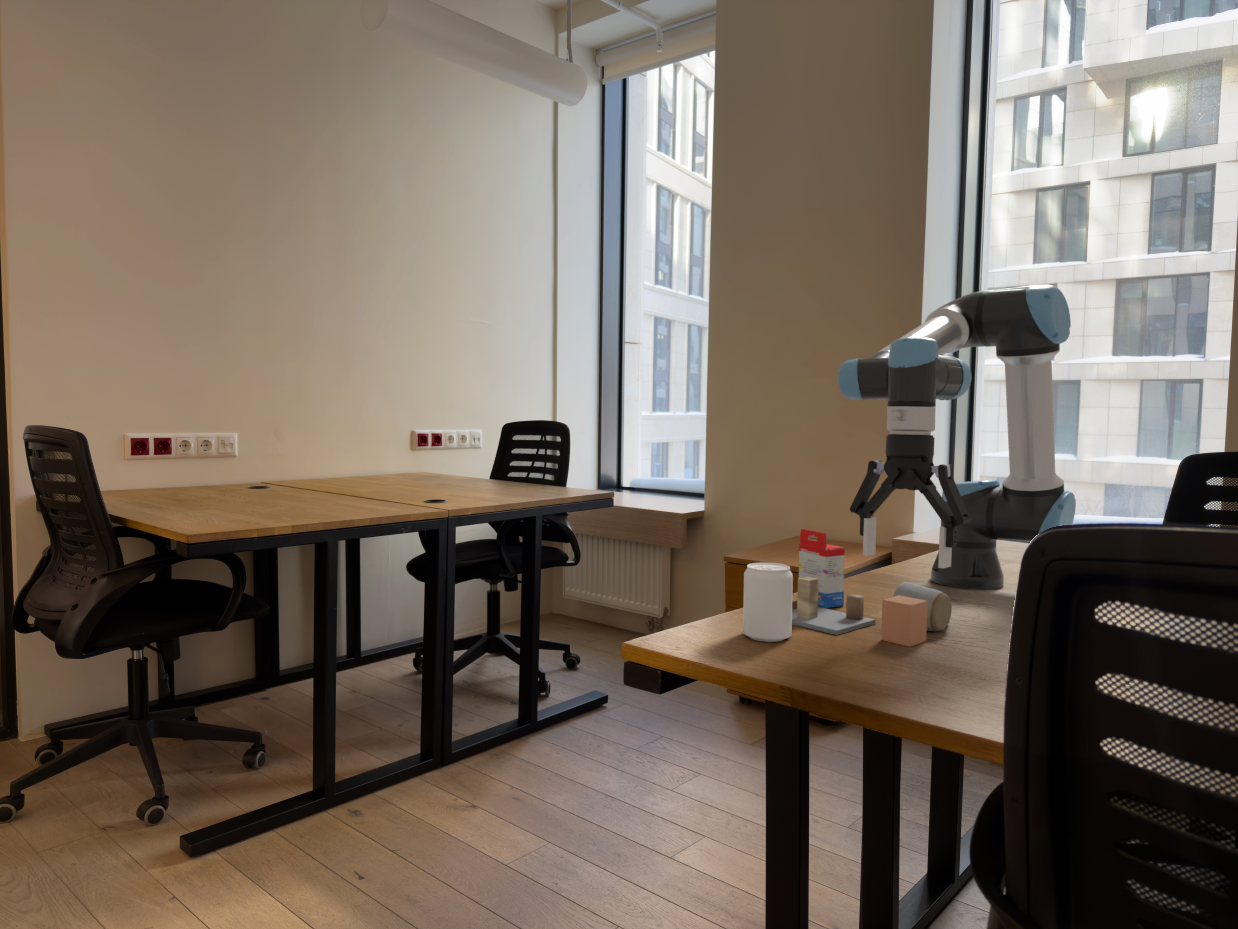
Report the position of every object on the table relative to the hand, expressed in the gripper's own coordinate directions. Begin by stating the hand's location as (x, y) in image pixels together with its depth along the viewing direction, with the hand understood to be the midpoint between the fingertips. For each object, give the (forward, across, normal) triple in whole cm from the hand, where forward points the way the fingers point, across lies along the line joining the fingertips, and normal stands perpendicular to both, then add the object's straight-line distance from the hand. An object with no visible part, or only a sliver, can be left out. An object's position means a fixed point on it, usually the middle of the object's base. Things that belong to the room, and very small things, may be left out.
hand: (905, 561), depth 135 cm
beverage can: (+14, -16, -16) cm, 26 cm away
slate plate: (+13, -16, 0) cm, 21 cm away
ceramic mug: (+14, -3, +12) cm, 18 cm away
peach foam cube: (+13, 0, 0) cm, 13 cm away
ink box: (+13, -25, +12) cm, 31 cm away
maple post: (+13, -18, -2) cm, 22 cm away
